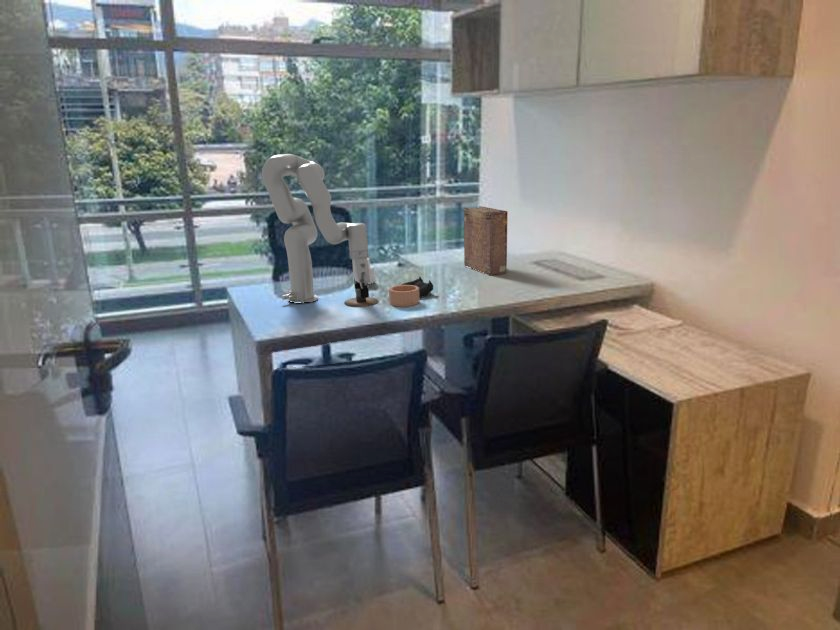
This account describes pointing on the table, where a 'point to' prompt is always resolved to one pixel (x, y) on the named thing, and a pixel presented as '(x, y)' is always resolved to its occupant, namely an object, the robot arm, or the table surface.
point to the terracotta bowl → (404, 295)
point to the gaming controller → (421, 286)
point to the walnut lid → (360, 300)
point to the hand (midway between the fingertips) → (362, 295)
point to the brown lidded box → (485, 239)
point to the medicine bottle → (370, 273)
